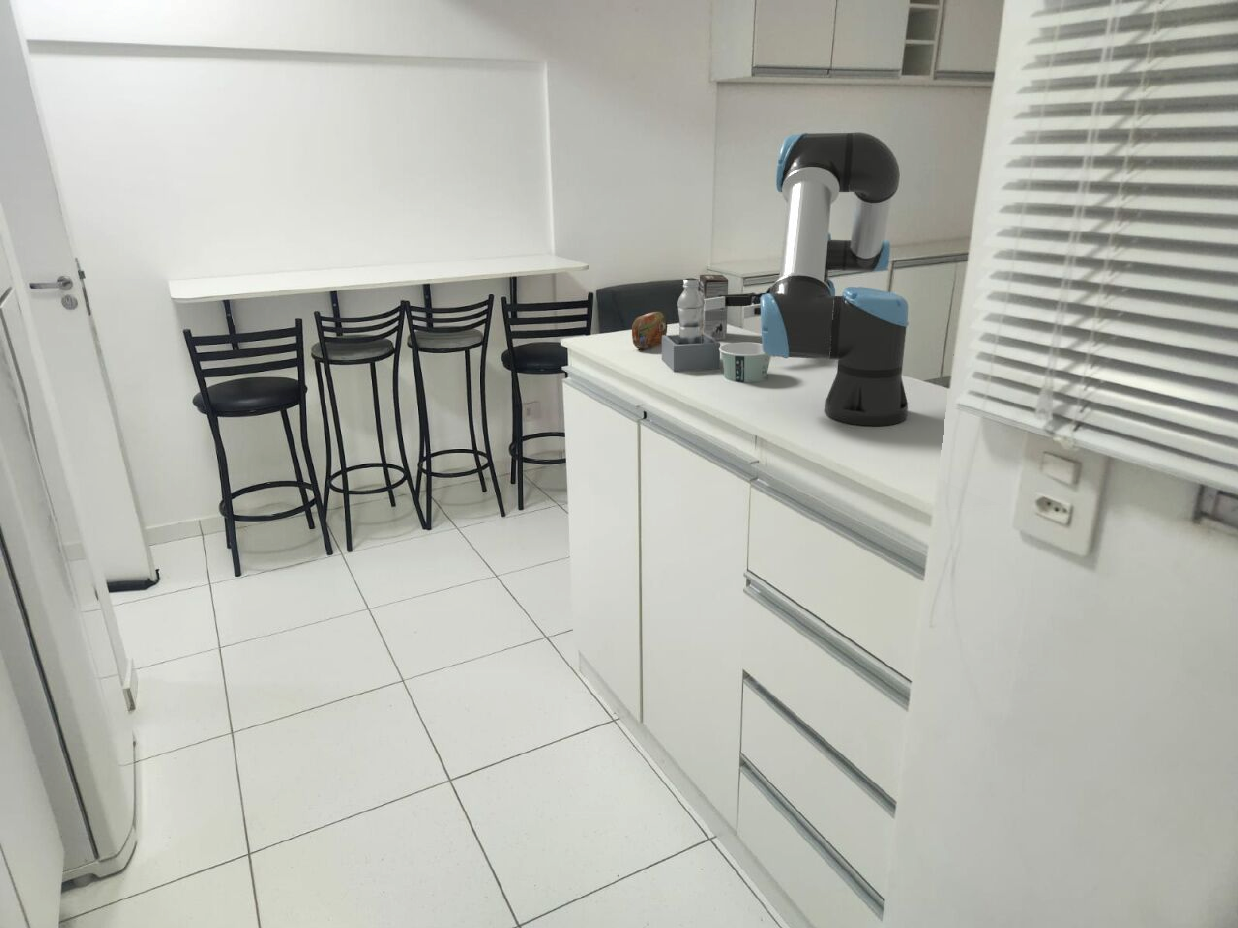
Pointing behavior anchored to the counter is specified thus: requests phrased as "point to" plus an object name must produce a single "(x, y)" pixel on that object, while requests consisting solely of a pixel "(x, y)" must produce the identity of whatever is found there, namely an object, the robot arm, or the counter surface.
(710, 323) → the coffee box
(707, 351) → the bottle holder
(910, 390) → the counter surface
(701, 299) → the plastic bottle
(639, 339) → the tin
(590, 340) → the counter surface
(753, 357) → the food container
